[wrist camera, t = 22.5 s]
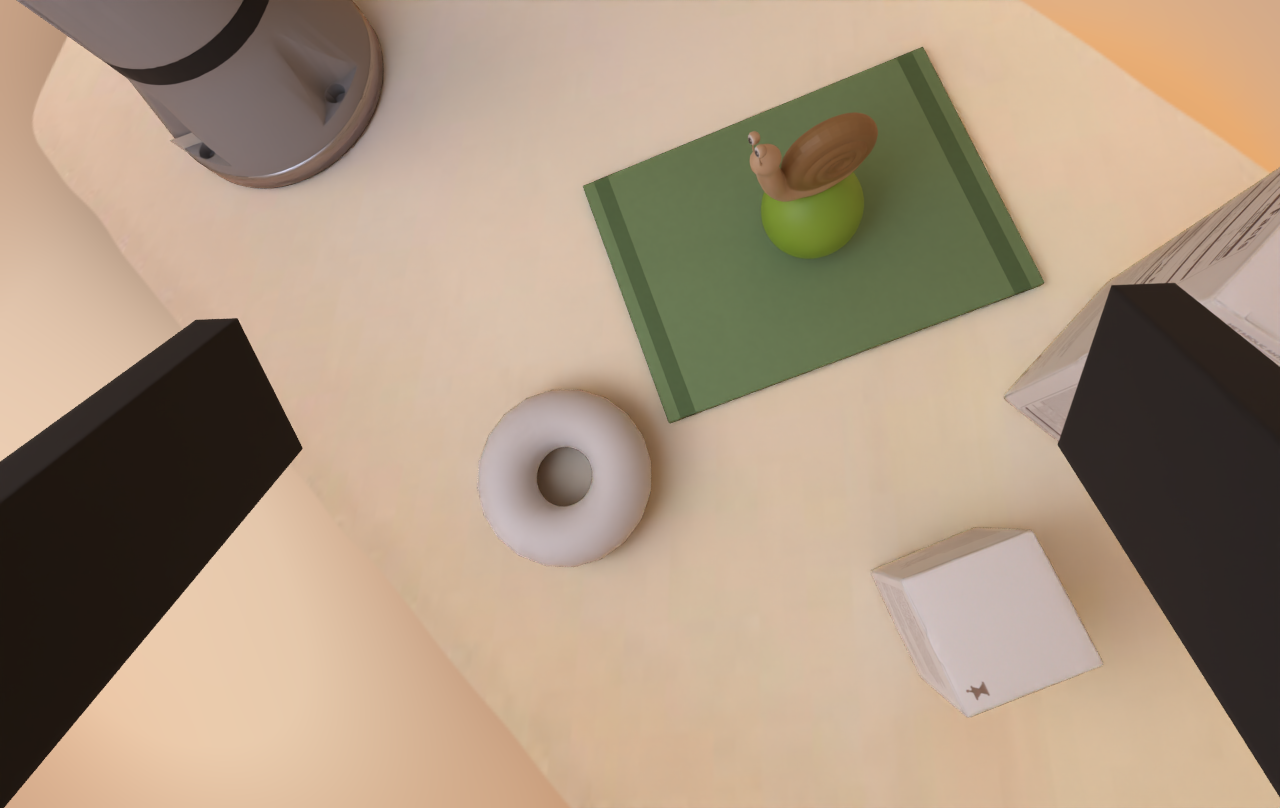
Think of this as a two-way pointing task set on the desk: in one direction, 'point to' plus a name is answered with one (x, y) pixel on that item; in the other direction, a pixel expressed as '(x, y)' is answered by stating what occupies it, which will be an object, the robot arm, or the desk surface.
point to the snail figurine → (814, 185)
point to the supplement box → (1203, 267)
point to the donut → (605, 506)
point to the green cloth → (795, 287)
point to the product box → (985, 618)
